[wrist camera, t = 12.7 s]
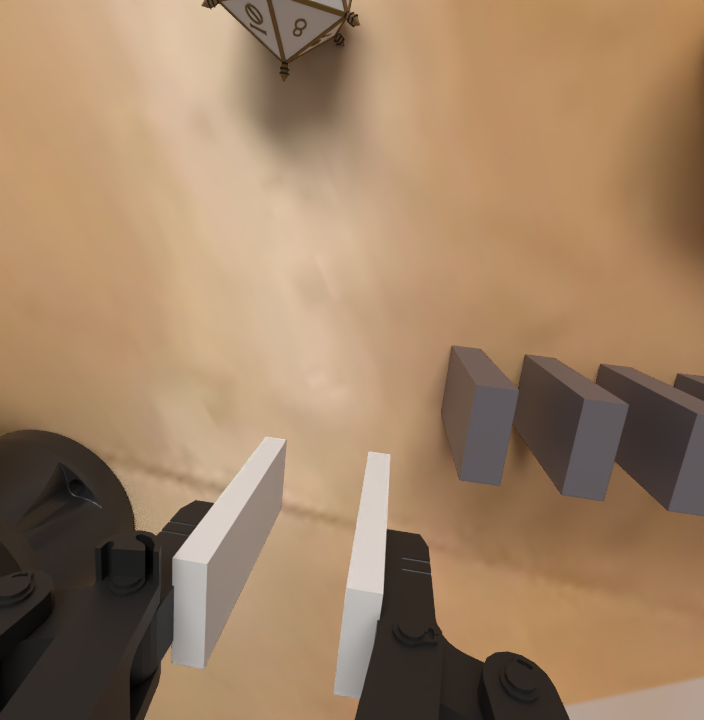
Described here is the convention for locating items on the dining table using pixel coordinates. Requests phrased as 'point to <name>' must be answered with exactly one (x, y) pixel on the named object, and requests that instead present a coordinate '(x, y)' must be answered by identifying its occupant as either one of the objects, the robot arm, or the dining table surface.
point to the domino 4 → (690, 385)
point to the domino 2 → (569, 426)
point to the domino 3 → (660, 438)
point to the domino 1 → (478, 415)
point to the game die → (290, 24)
